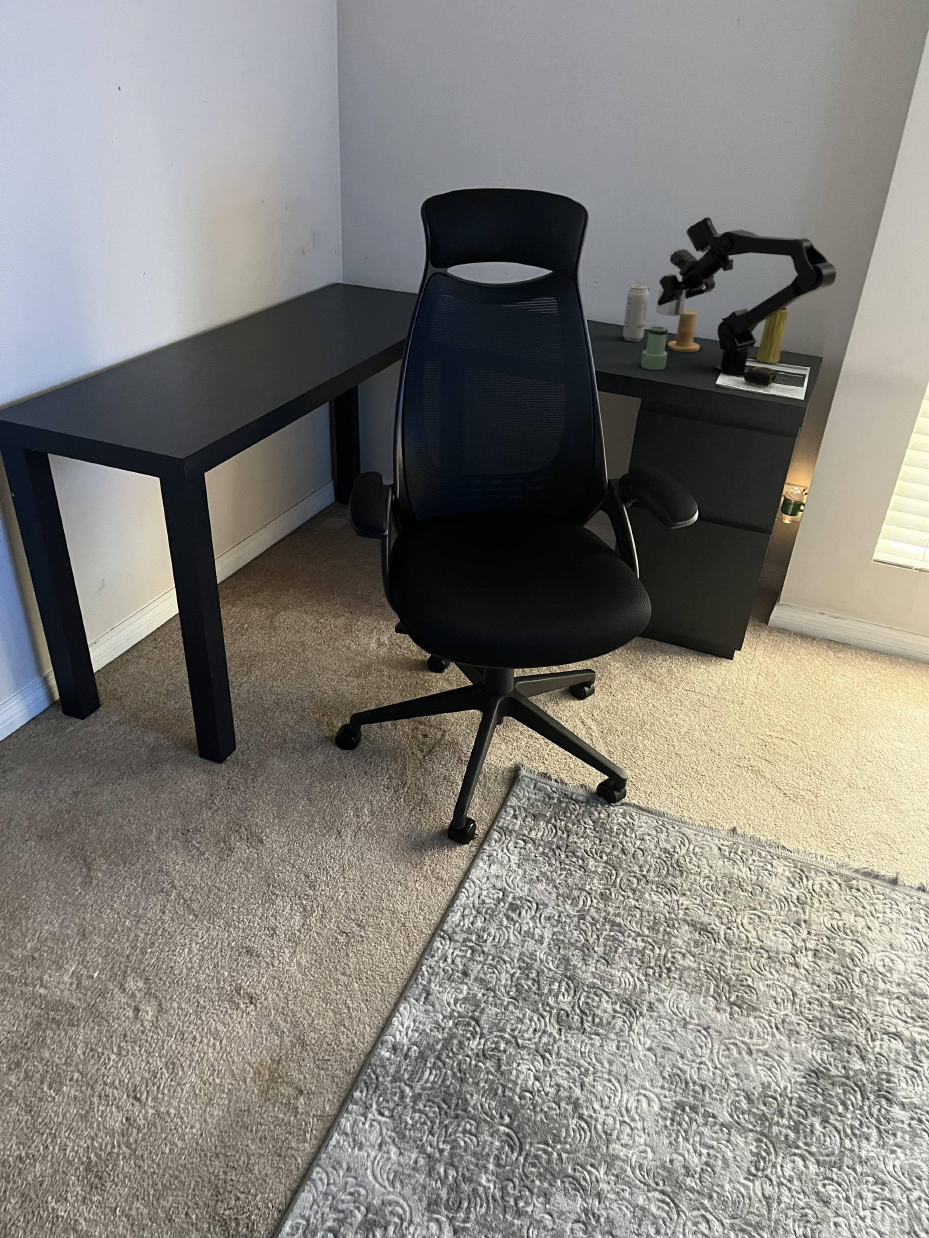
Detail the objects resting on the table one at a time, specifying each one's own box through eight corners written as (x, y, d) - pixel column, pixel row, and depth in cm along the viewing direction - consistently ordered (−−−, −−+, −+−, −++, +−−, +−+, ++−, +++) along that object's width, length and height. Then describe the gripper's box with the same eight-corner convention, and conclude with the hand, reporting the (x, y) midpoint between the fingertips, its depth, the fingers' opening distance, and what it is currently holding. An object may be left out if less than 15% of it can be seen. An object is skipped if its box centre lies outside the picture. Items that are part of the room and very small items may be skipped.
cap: (688, 313, 244) (691, 290, 241) (672, 317, 240) (675, 294, 237) (667, 308, 249) (670, 286, 246) (651, 311, 245) (654, 289, 242)
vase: (774, 365, 242) (785, 311, 234) (752, 360, 245) (763, 308, 238) (782, 360, 246) (793, 307, 239) (761, 356, 249) (771, 304, 242)
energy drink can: (641, 343, 258) (648, 289, 250) (620, 340, 260) (627, 287, 252) (644, 338, 263) (651, 285, 255) (624, 335, 264) (630, 283, 256)
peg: (705, 350, 253) (711, 315, 247) (678, 353, 250) (684, 317, 245) (688, 342, 260) (693, 307, 254) (661, 344, 257) (666, 309, 252)
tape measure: (741, 384, 227) (744, 369, 225) (752, 378, 231) (755, 364, 229) (766, 390, 223) (769, 375, 221) (777, 384, 228) (780, 369, 226)
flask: (670, 369, 237) (675, 331, 231) (648, 371, 235) (653, 333, 229) (657, 362, 242) (662, 325, 236) (636, 364, 240) (641, 326, 234)
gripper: (713, 237, 237) (674, 273, 250) (670, 244, 227) (632, 281, 239) (732, 272, 236) (692, 307, 249) (690, 281, 226) (650, 316, 239)
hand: (667, 302), depth 244 cm, fingers closed on cap, 7 cm apart
